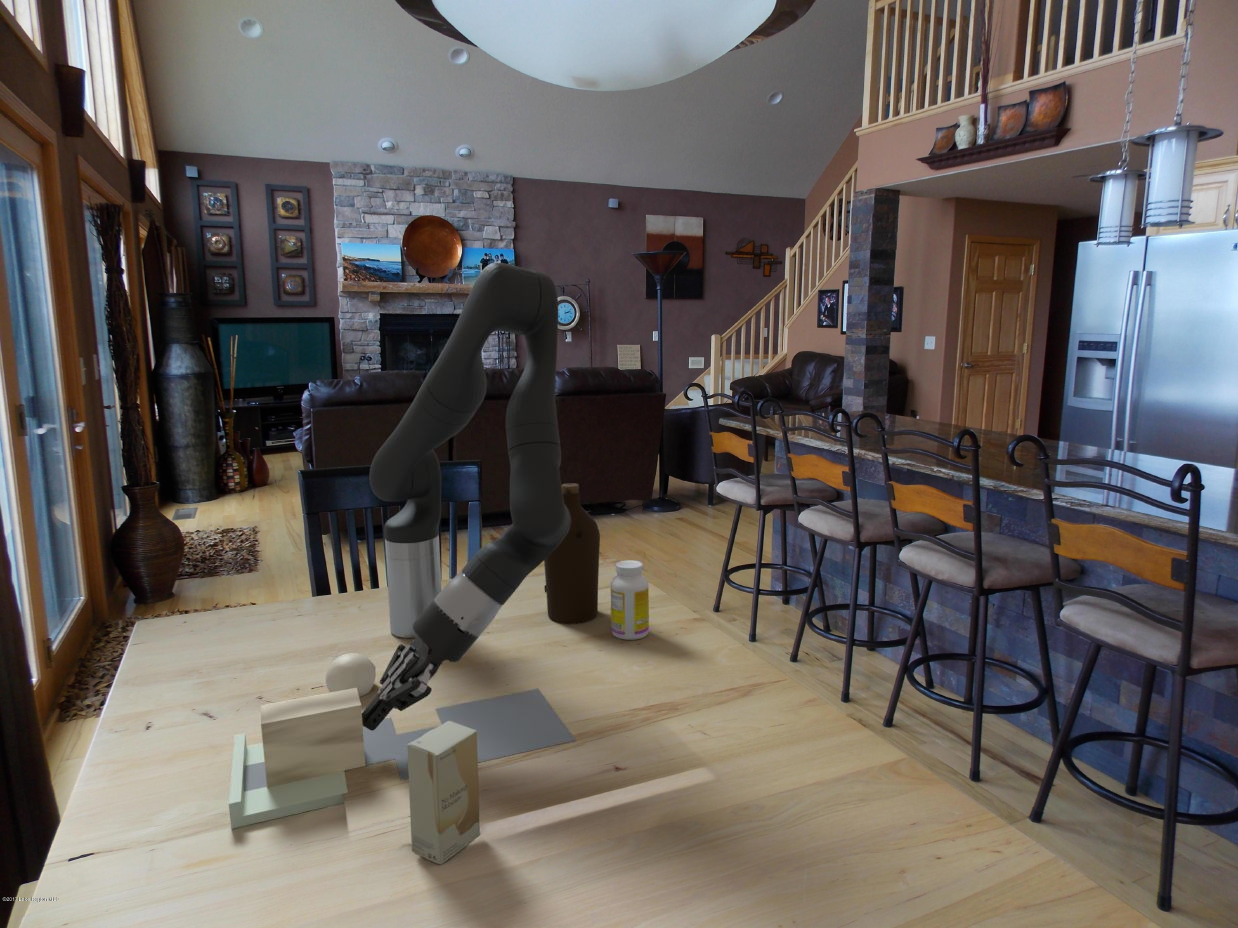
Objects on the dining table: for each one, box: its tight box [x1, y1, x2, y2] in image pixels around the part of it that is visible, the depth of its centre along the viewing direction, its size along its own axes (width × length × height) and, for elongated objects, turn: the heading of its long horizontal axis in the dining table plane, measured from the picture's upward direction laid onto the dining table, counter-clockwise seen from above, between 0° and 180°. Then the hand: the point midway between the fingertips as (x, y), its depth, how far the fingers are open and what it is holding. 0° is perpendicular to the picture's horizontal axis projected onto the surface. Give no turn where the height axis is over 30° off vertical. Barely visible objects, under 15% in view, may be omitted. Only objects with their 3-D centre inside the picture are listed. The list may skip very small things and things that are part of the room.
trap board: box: [228, 688, 577, 830], centre depth 101 cm, size 16×40×3 cm, turn 113°
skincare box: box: [407, 721, 481, 865], centre depth 83 cm, size 6×4×12 cm
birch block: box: [260, 688, 365, 788], centre depth 96 cm, size 5×11×8 cm, turn 114°
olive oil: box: [543, 482, 601, 624], centre depth 147 cm, size 11×11×25 cm
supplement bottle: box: [610, 559, 650, 641], centre depth 139 cm, size 7×7×13 cm
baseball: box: [325, 652, 377, 698], centre depth 116 cm, size 7×7×7 cm
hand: (365, 724), depth 99 cm, fingers closed
